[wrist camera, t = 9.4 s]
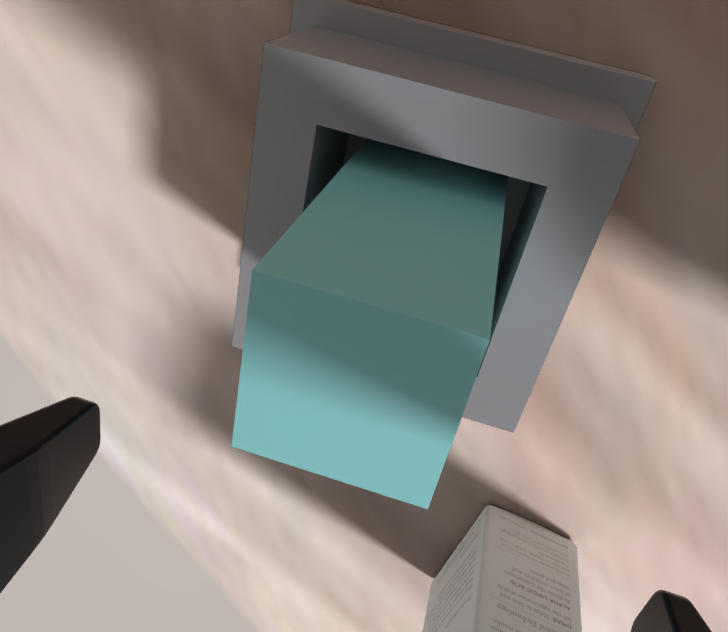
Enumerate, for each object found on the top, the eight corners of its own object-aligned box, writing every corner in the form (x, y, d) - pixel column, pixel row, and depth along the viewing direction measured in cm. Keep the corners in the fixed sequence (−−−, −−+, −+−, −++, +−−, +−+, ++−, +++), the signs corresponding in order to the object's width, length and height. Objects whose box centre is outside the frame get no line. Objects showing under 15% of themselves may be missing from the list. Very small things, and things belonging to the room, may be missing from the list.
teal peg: (509, 162, 19) (490, 339, 10) (471, 280, 21) (427, 509, 12) (377, 127, 19) (252, 269, 10) (352, 247, 21) (231, 446, 13)
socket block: (650, 76, 18) (687, 115, 13) (529, 363, 23) (529, 457, 19) (305, -10, 18) (238, 1, 14) (266, 285, 24) (208, 358, 19)
